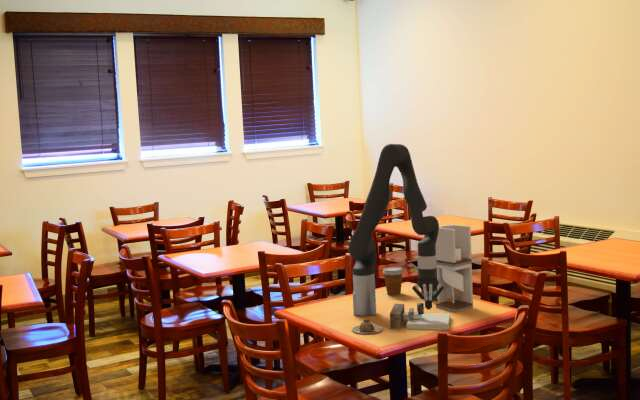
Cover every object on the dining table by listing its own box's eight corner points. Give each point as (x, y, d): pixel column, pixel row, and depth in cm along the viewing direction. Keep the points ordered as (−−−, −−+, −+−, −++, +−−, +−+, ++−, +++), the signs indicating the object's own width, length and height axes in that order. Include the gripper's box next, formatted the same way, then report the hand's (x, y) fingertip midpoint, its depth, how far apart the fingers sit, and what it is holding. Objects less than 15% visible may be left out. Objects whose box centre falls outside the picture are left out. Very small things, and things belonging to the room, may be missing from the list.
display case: (436, 307, 334) (433, 227, 330) (453, 303, 340) (450, 224, 336) (455, 312, 325) (453, 229, 321) (473, 307, 331) (470, 226, 327)
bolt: (396, 318, 311) (396, 304, 310) (397, 316, 314) (397, 302, 314) (423, 319, 309) (423, 304, 308) (424, 316, 312) (423, 302, 311)
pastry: (352, 327, 312) (352, 316, 311) (382, 326, 311) (382, 315, 310) (351, 336, 300) (350, 324, 299) (382, 335, 299) (382, 323, 298)
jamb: (390, 328, 306) (389, 313, 305) (395, 317, 321) (394, 303, 320) (401, 328, 305) (400, 314, 304) (405, 318, 320) (404, 303, 320)
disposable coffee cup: (382, 296, 359) (381, 271, 358) (384, 291, 369) (383, 266, 367) (403, 296, 358) (402, 270, 356) (404, 291, 367) (403, 266, 366)
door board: (406, 328, 304) (406, 315, 304) (410, 318, 320) (410, 305, 319) (448, 329, 301) (447, 315, 300) (450, 318, 316) (449, 305, 316)
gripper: (409, 268, 305) (411, 311, 307) (443, 268, 303) (445, 311, 305) (411, 264, 313) (413, 306, 315) (444, 264, 310) (446, 306, 312)
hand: (428, 309), depth 310 cm, fingers closed
